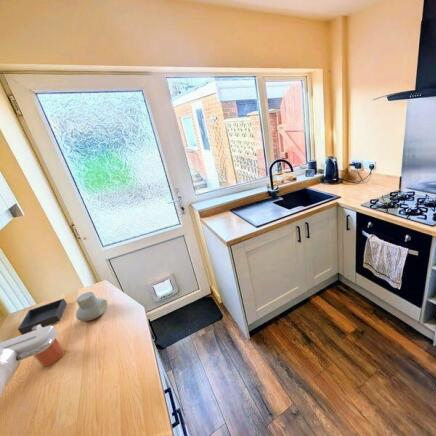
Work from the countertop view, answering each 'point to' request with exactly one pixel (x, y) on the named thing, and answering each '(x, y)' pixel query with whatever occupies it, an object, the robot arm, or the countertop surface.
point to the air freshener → (90, 306)
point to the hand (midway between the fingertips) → (17, 334)
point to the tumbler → (50, 354)
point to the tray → (43, 316)
